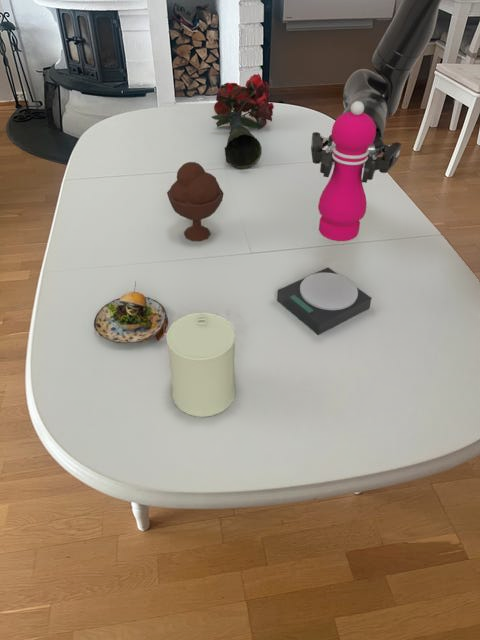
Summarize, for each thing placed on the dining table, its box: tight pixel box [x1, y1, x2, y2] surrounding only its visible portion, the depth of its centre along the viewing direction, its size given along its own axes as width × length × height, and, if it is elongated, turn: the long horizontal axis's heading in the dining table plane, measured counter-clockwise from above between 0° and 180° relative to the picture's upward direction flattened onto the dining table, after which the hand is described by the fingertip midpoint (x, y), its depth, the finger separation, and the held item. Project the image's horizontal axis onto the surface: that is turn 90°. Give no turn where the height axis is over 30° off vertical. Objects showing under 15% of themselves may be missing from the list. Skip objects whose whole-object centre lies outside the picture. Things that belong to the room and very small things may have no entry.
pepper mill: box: [317, 101, 376, 242], centre depth 76 cm, size 7×7×20 cm
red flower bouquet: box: [211, 73, 275, 170], centre depth 141 cm, size 16×18×35 cm
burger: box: [93, 281, 169, 344], centre depth 84 cm, size 12×12×8 cm
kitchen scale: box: [276, 266, 372, 336], centre depth 91 cm, size 12×11×3 cm
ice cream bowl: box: [166, 161, 225, 242], centre depth 103 cm, size 11×11×15 cm
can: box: [166, 312, 236, 418], centre depth 72 cm, size 9×9×12 cm
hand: (345, 173), depth 73 cm, fingers closed on pepper mill, 5 cm apart
